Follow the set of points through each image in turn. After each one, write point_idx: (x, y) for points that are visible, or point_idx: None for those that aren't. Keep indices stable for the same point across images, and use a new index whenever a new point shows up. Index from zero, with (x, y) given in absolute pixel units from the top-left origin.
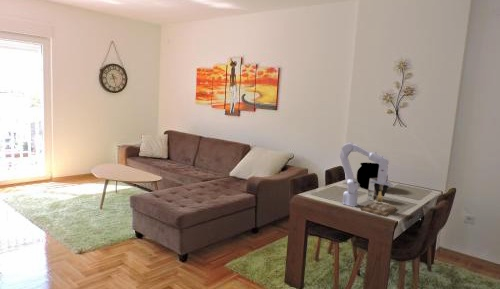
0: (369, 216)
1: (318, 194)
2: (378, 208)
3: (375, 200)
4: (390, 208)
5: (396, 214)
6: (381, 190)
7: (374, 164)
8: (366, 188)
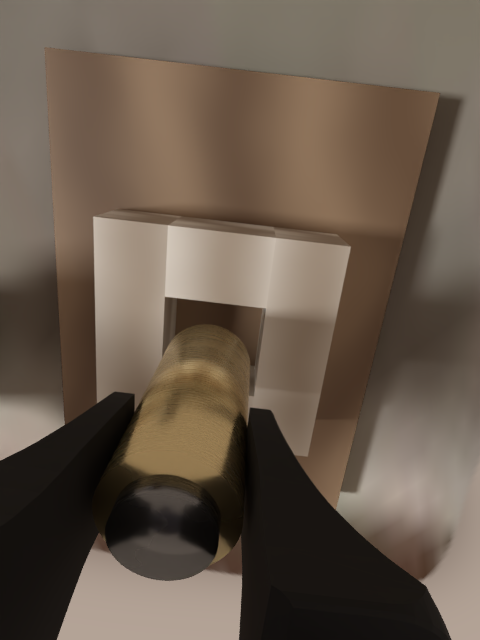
0: (213, 565)
1: None
2: None
3: (100, 218)
4: (358, 241)
5: (441, 341)
6: (194, 571)
7: None
8: None
